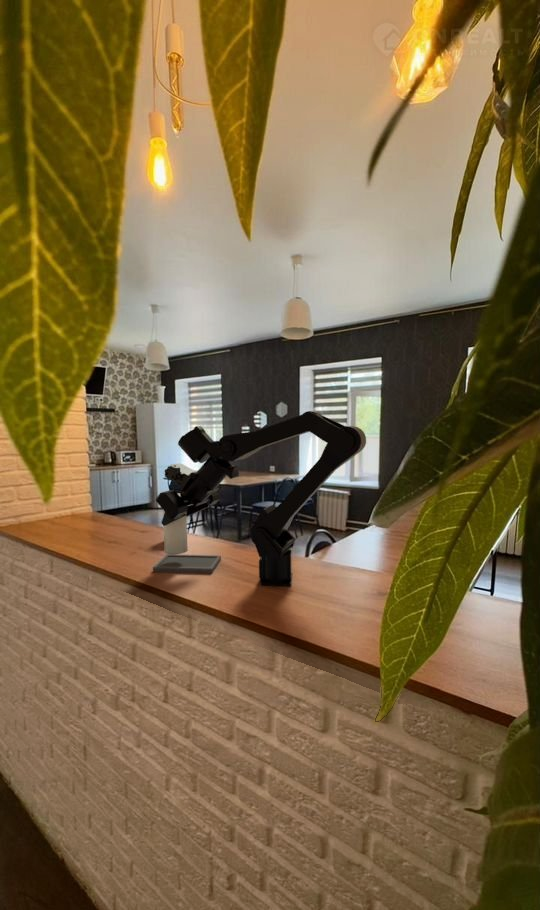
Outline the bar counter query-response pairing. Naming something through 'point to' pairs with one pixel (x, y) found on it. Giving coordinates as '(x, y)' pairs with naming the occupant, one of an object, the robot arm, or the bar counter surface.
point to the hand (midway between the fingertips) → (170, 521)
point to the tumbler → (176, 536)
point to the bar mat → (187, 563)
